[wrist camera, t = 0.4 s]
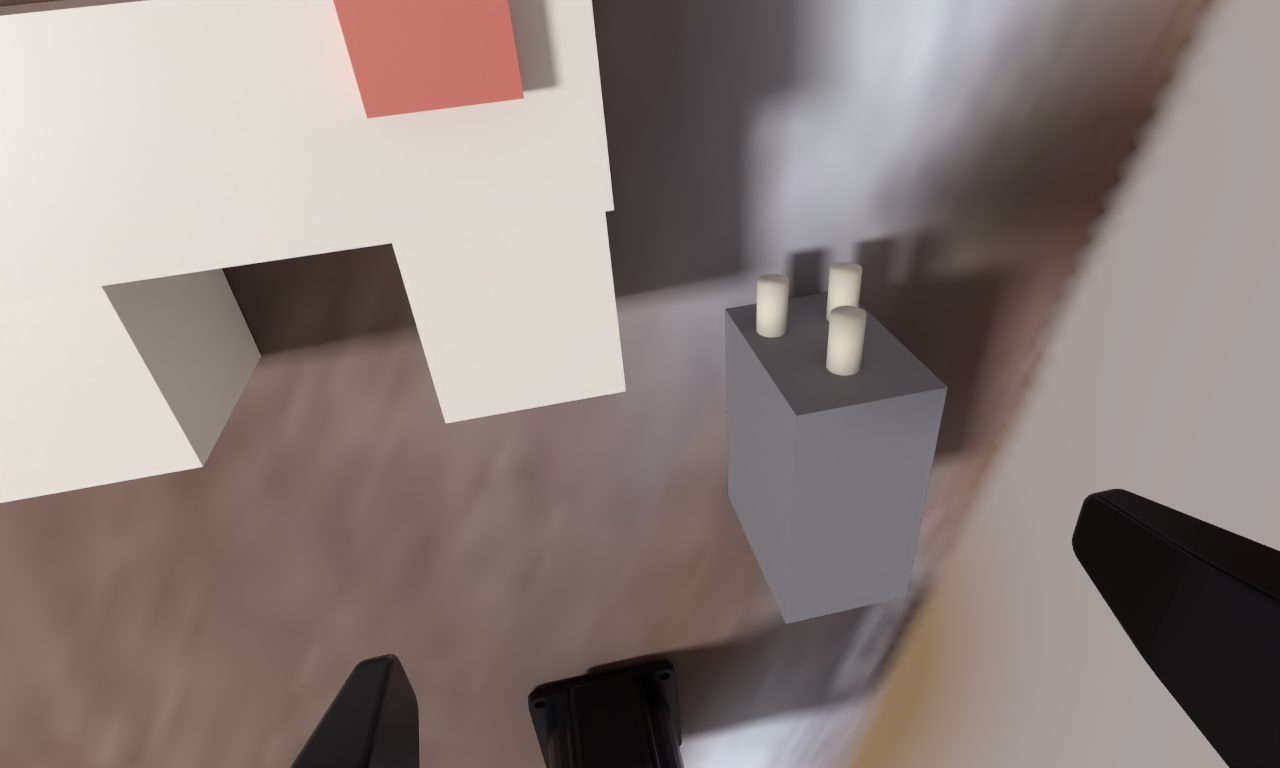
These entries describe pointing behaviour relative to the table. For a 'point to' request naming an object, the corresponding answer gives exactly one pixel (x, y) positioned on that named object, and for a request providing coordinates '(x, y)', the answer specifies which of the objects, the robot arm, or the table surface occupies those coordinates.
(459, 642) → the table surface
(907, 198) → the table surface
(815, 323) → the plug
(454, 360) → the socket
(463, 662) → the table surface
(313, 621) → the table surface
